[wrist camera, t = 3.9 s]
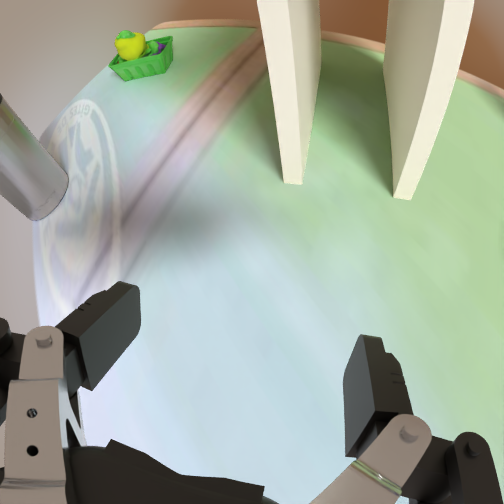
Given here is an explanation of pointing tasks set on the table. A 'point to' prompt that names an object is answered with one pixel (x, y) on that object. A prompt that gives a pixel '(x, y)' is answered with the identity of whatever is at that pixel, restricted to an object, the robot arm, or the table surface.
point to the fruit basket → (141, 55)
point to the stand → (394, 70)
